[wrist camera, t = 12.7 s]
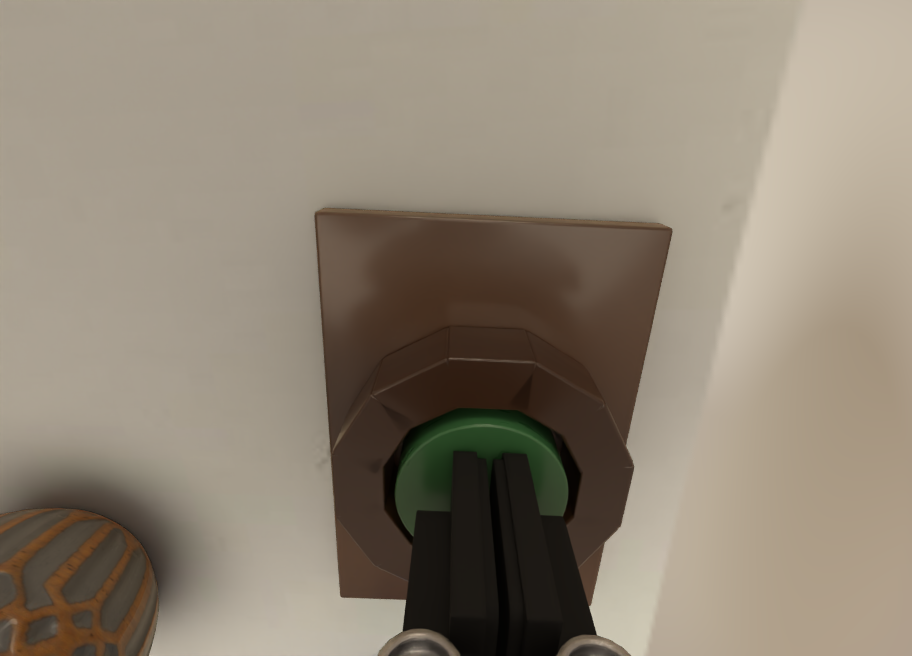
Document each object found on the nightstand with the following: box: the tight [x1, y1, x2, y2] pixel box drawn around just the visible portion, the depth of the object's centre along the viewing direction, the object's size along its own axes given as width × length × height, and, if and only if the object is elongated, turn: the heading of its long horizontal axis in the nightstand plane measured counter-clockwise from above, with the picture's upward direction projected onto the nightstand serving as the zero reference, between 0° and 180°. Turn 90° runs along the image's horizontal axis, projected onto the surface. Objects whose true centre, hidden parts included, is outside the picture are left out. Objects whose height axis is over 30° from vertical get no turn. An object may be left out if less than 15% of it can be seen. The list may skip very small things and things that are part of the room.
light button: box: [395, 408, 569, 537], centre depth 12 cm, size 4×4×2 cm
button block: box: [315, 208, 672, 606], centre depth 12 cm, size 12×8×2 cm, turn 177°
